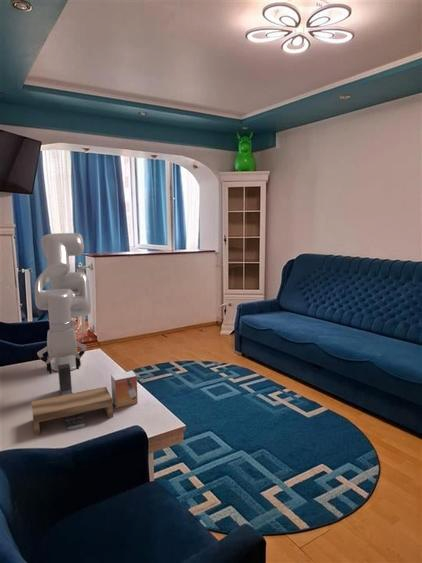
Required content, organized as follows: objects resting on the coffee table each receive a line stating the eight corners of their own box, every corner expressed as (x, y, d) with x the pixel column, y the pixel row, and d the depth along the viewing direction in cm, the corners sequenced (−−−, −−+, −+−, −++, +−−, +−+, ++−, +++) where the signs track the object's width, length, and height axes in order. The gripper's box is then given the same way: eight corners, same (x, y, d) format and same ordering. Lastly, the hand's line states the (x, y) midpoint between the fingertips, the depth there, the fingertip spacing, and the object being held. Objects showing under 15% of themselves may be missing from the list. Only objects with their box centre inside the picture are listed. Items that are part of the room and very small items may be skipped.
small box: (115, 408, 137) (114, 380, 135) (111, 401, 142) (110, 374, 140) (138, 403, 140) (137, 375, 138) (133, 396, 145) (132, 370, 143)
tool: (59, 390, 151) (57, 365, 149) (70, 387, 153) (68, 363, 151) (66, 416, 132) (64, 389, 130) (78, 414, 133) (76, 386, 131)
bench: (33, 419, 130) (31, 401, 129) (106, 403, 140) (105, 386, 139) (34, 435, 121) (32, 415, 120) (113, 416, 131) (112, 398, 130)
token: (66, 424, 128) (66, 419, 128) (82, 420, 130) (82, 416, 130) (68, 432, 123) (67, 427, 123) (84, 428, 126) (84, 423, 125)
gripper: (83, 321, 152) (86, 363, 155) (34, 326, 145) (38, 371, 147) (86, 325, 145) (89, 369, 148) (35, 331, 138) (39, 378, 140)
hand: (64, 370), depth 148 cm, fingers open, 9 cm apart
